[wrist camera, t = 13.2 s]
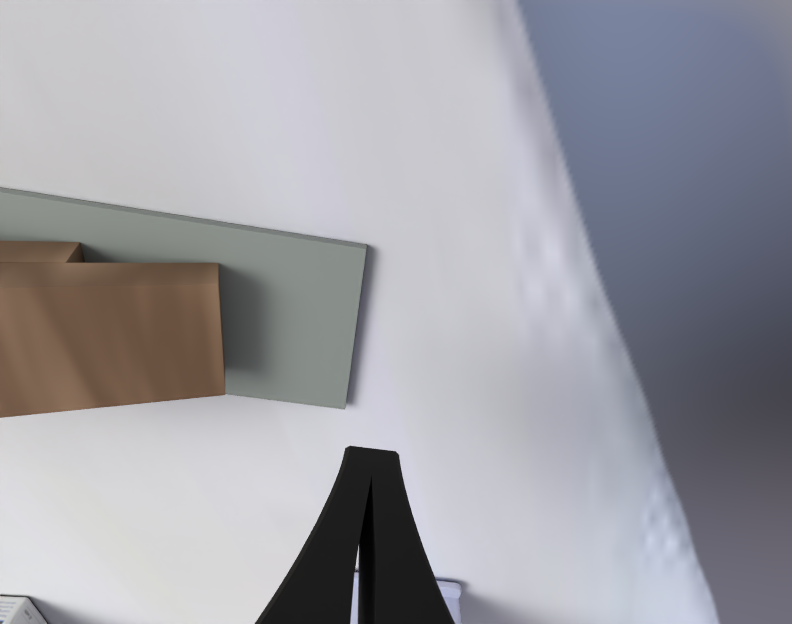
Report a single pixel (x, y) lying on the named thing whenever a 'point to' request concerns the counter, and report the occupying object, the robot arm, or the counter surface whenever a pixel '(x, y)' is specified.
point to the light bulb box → (19, 611)
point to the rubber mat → (229, 286)
